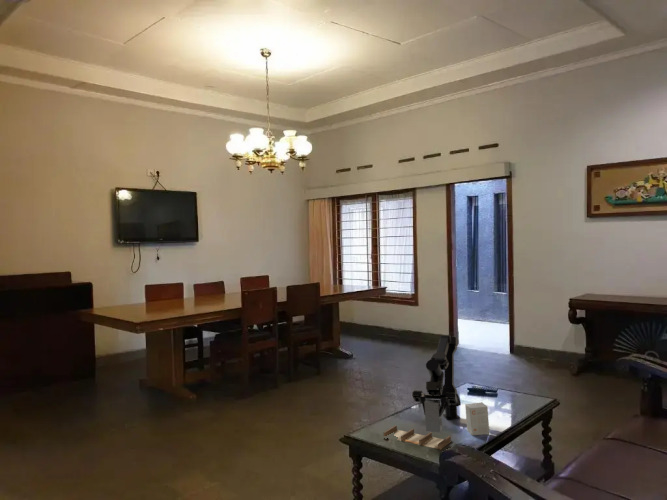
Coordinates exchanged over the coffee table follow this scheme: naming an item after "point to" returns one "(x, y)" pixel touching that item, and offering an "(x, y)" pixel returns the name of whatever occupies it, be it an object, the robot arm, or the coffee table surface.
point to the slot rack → (418, 438)
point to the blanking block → (433, 415)
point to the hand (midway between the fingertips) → (432, 415)
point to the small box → (477, 418)
